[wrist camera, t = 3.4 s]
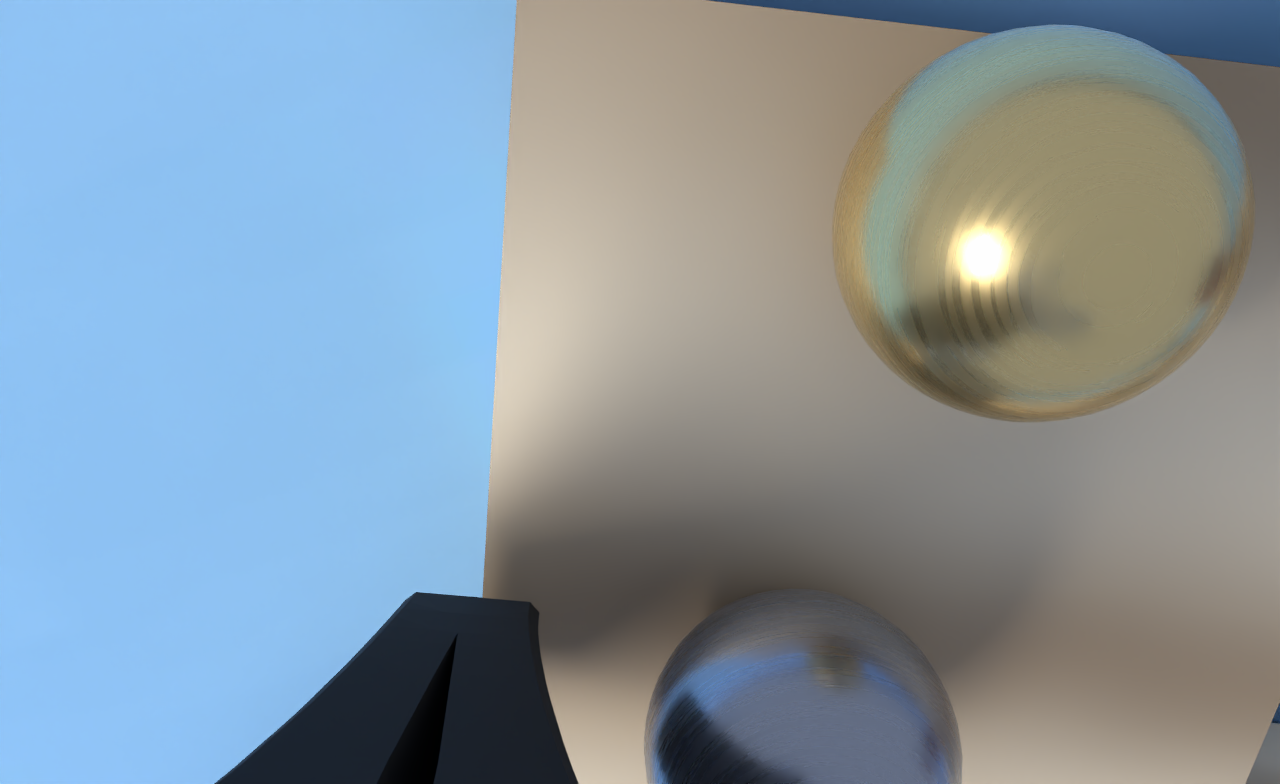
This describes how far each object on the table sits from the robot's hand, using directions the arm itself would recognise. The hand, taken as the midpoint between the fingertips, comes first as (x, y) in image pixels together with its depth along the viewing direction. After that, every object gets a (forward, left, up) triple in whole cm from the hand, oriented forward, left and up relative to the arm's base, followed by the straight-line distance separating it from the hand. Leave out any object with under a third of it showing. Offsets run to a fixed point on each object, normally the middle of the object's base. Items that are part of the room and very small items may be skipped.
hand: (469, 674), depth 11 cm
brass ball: (+5, -4, +1) cm, 7 cm away
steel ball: (0, -3, +1) cm, 4 cm away
